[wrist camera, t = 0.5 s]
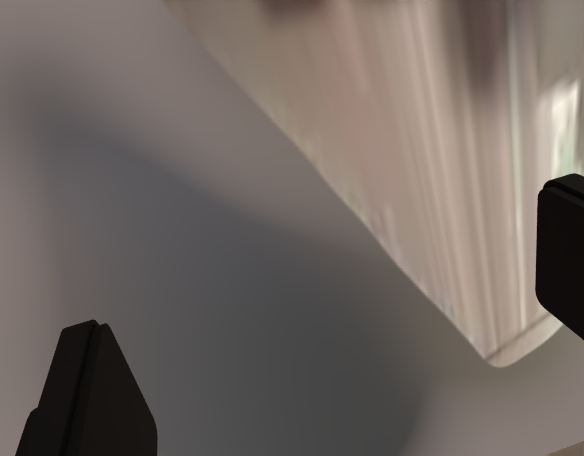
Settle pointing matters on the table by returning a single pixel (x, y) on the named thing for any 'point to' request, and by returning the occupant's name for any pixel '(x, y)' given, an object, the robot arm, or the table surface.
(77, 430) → the robot arm
